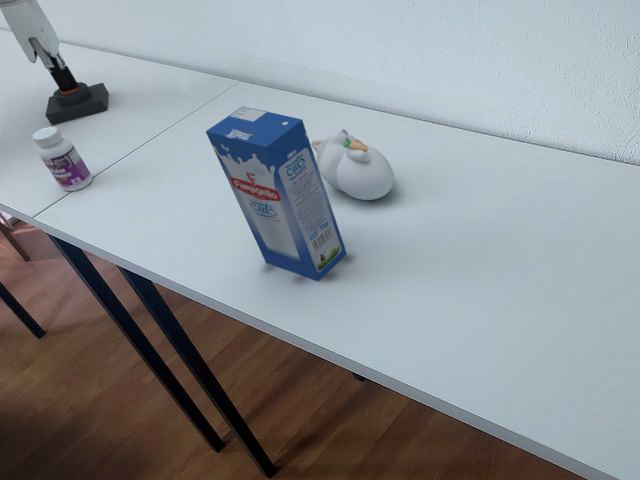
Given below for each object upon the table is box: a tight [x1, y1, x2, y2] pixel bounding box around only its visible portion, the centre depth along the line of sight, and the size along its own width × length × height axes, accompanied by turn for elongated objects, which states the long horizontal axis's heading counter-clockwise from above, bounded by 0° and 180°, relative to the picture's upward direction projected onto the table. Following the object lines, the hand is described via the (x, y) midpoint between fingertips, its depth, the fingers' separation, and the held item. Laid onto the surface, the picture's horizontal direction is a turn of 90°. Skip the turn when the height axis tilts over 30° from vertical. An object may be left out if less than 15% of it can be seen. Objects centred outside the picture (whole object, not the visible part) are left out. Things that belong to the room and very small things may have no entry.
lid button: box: [60, 86, 80, 95], centre depth 129 cm, size 4×4×2 cm
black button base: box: [45, 81, 109, 126], centre depth 130 cm, size 11×9×4 cm
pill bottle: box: [32, 126, 93, 192], centre depth 107 cm, size 5×5×10 cm
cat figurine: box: [310, 128, 395, 201], centre depth 96 cm, size 10×8×15 cm
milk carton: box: [205, 105, 348, 282], centre depth 81 cm, size 10×6×20 cm, turn 58°
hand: (70, 88), depth 128 cm, fingers closed
